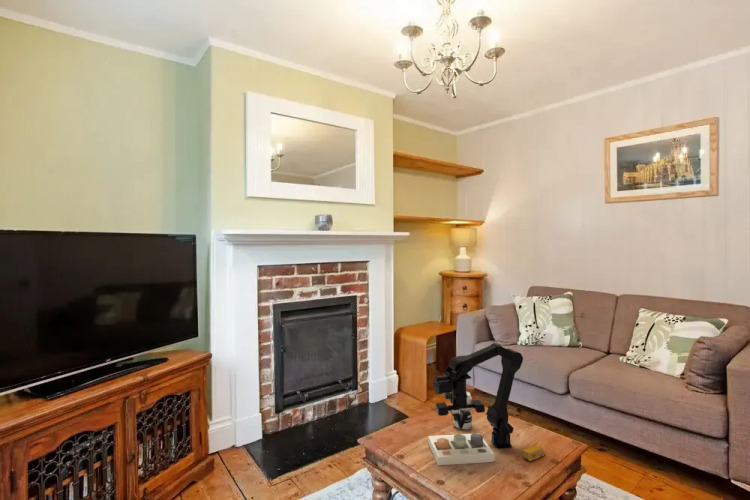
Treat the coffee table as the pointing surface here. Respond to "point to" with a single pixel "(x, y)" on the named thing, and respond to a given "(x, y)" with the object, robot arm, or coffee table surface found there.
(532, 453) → the toy bus
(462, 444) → the sage button
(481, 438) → the charcoal button
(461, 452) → the panel
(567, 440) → the coffee table surface
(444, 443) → the rust button
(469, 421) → the supplement can
